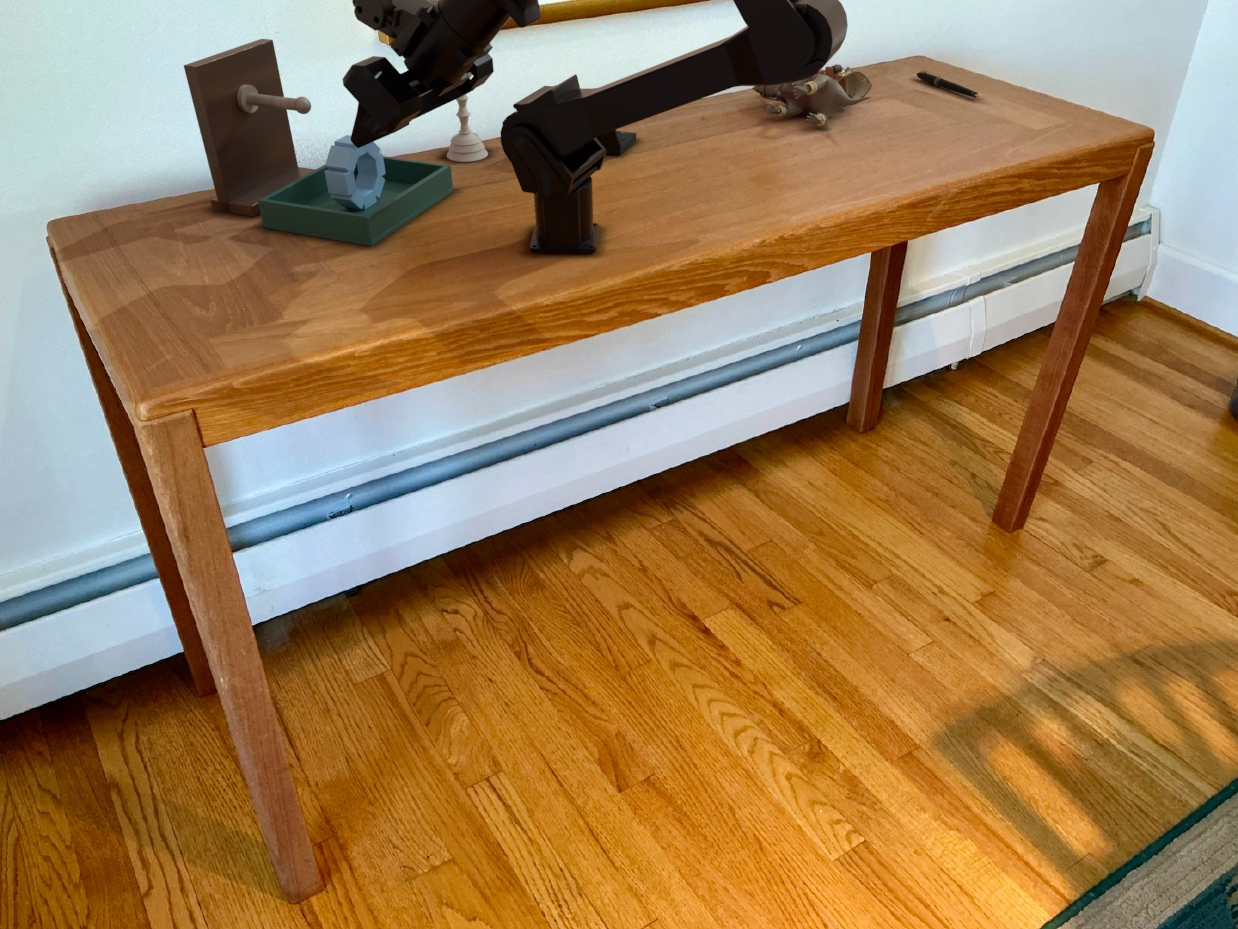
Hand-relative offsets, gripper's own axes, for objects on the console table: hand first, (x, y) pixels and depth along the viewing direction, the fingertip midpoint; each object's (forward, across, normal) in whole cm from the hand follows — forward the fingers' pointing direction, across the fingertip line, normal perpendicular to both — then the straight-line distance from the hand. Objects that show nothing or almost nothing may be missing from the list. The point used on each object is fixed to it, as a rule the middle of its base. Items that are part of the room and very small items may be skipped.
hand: (380, 130), depth 100 cm
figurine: (-17, -53, +30) cm, 63 cm away
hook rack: (+16, 0, -4) cm, 16 cm away
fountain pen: (-28, -69, +41) cm, 85 cm away
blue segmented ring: (+6, 0, +1) cm, 6 cm away
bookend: (-1, -27, +14) cm, 31 cm away
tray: (+9, 0, +3) cm, 10 cm away
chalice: (+8, -20, +5) cm, 22 cm away
